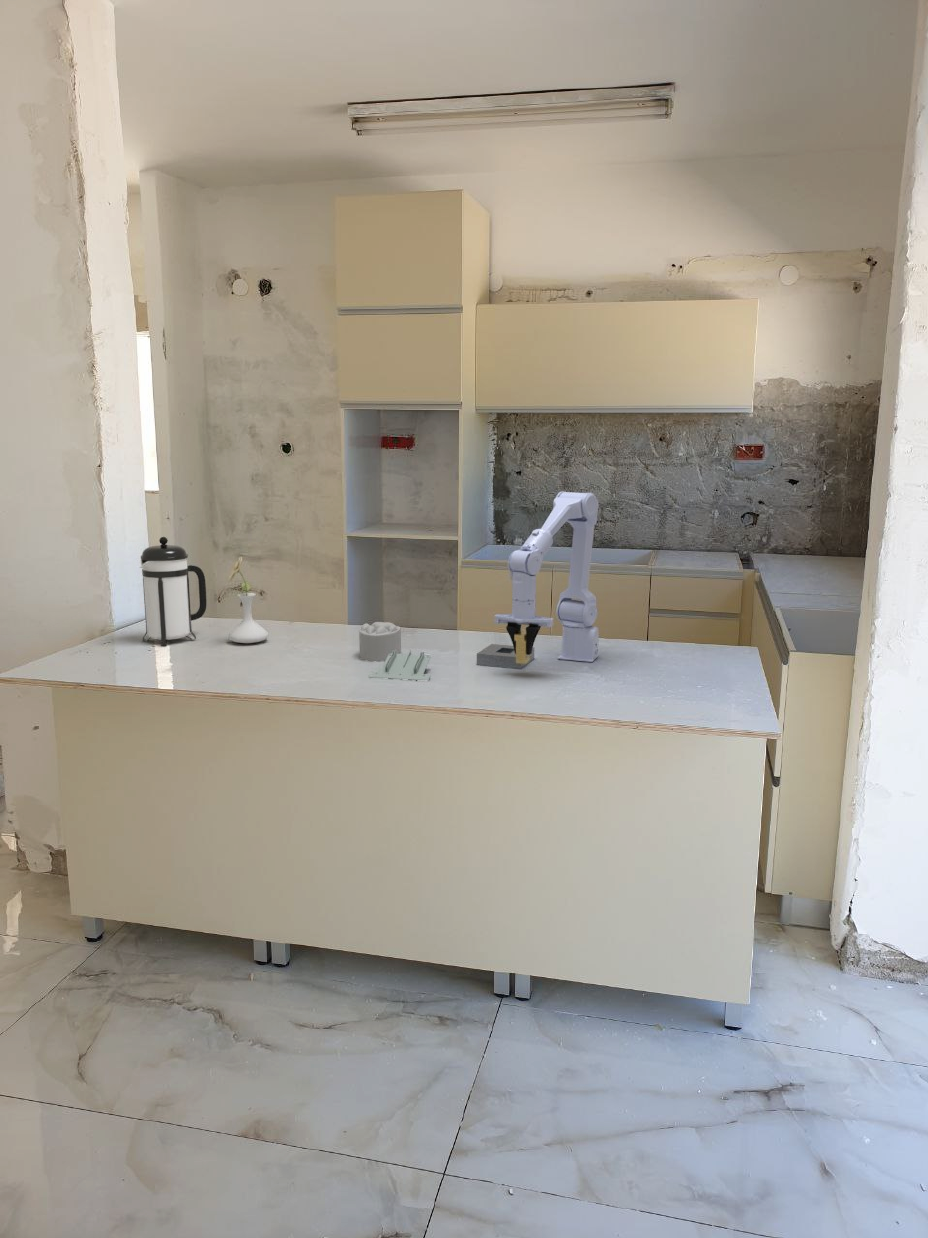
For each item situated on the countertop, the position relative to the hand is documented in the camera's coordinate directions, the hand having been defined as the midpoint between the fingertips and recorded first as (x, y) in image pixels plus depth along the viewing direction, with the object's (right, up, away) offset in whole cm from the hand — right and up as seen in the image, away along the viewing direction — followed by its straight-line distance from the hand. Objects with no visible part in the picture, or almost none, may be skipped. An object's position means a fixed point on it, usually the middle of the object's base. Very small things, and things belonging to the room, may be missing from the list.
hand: (523, 653), depth 230 cm
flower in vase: (-77, +2, +35) cm, 84 cm away
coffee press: (-99, +2, +38) cm, 106 cm away
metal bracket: (-30, -6, +2) cm, 30 cm away
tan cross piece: (0, -2, 0) cm, 2 cm away
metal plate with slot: (-4, -3, +14) cm, 15 cm away
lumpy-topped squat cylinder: (-38, -2, +20) cm, 43 cm away
